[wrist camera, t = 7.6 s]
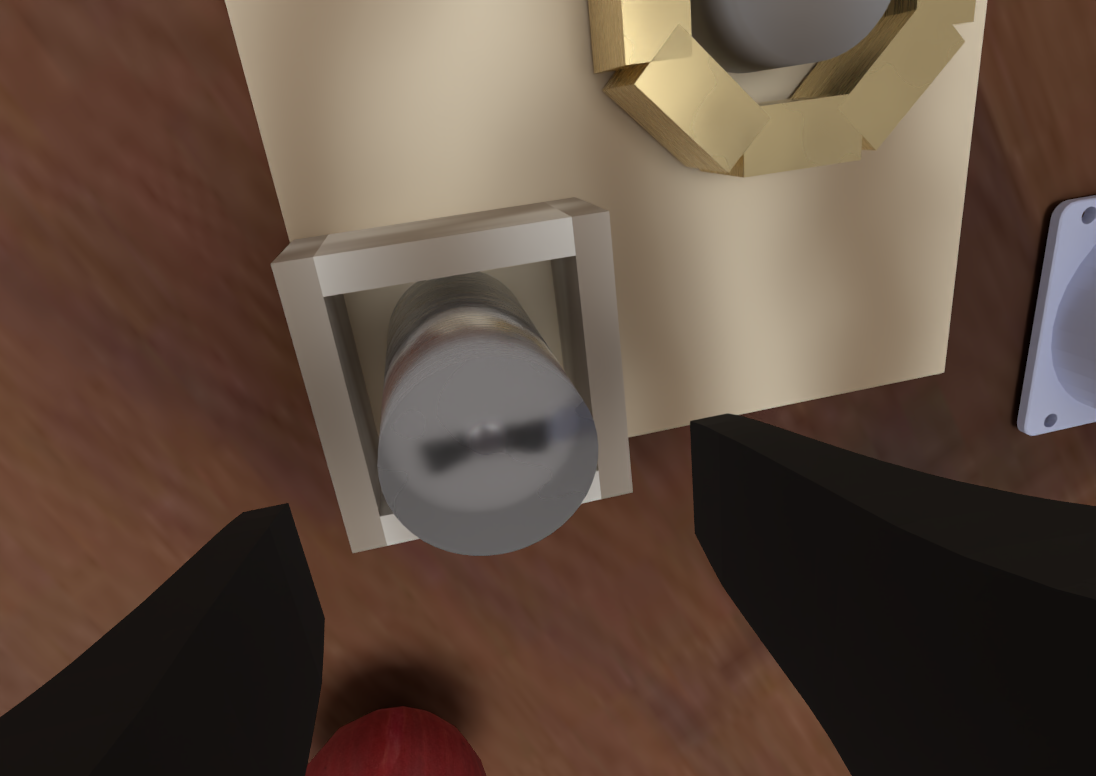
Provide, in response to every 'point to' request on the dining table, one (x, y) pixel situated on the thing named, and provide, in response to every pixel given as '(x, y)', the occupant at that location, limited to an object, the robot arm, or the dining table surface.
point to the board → (592, 215)
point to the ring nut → (781, 125)
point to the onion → (397, 747)
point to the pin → (479, 421)
